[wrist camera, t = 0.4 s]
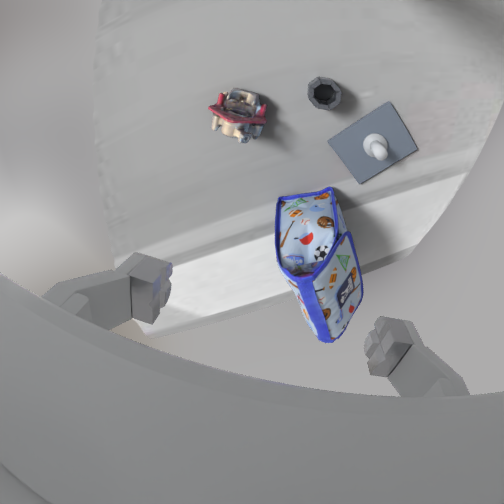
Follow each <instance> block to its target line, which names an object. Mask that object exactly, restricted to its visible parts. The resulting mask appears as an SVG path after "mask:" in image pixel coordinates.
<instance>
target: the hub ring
mask: <svg viewBox="0 0 504 504" xmlns="http://www.w3.org/2000/svg"><path fill="white" fill-rule="evenodd" d="M320 84H327V85H331V86H332V88H333V97H331V98H330V99H328V100H327V101H323V100H318V99H317V98H316V97H315V96H314V88H316V87H317V86H319V85H320ZM341 93H342V92H341V90H340V88H339V87H338V86H337V85H336V84H335V82H334V81H333V80H331V79H330V78H324V77H319V78H318V77H317V78H315V79H314V80H312V81H311V82H310V83H309V84H308V98H309V100H310V101H311V102H312V104H313V105H314V106H315V107H316V108H318V109H324V110H329V109H330V110H331V109H333V108H334V107H336V106H337V105H339V102H340V101H341Z"/></svg>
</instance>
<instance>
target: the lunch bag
mask: <svg viewBox="0 0 504 504" xmlns="http://www.w3.org/2000/svg"><path fill="white" fill-rule="evenodd" d="M275 248H276V256H277V263H278V266H279V269H280V271H281V273H282V275H283V276H284V278H285V279H286V281H287V282H288V284H289V286H290V287H291V288H292V290H293V291H294V293H295V295H296V298H297V300H298V302H299V305H300V307H301V310H302V313H303V316H304V318H305V320H306V322H307V323H308V325H309V326H310V328H311V329H312V331H313V332H314V333H315V335H316V336H317V338H318V339H319V340H320V341H322V342H325V343H333V342H334V341H335V340H336V339H337V338H339V337H340V336H341V335H342V334H343V332H344V331H345V329H346V327H347V325H348V323H349V321H350V319H351V317H352V316H353V314H354V312H355V311H356V309H357V308H358V306H359V305H360V303H361V301H362V298H363V281H362V276H361V271H360V267H359V262H358V258H357V255H356V251H355V247H354V243H353V239H352V235H351V233H350V232H349V231H347V228H346V224H345V221H344V217H343V214H342V211H341V209H340V206H339V203H338V201H337V199H336V196H335V195H334V191H333V188H332V187H327V188H325V189H323V190H321V191H318V192H312V193H304V194H297V195H292V196H286V197H284V196H282V197H279V198H278V202H277V204H276V216H275Z"/></svg>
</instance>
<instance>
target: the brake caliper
mask: <svg viewBox="0 0 504 504" xmlns="http://www.w3.org/2000/svg"><path fill="white" fill-rule="evenodd" d="M259 102H260V101H259V94H257V93H254V92H249V91H244V90H241V89H238V88H233V89H232V90H231V92H230V93H229V94H228V92H224V93H220V94H219V97H218V102H217V103H216V104H215V105H211V106H209V107H208V109H209V110H211V111H212V112H213V119H212V130H214V131H216V130H217V129H218V128H219V127H220V126H222V129H221V131H222V133H223V134H224V135H226V136H228V137H231V138H238V141H239V143H247V142H248V141H249V140H250V138H251V136H252V135H253V139H257V138H258V136H259V135H260V133H261V130H262V129H263V126H264V123H267V120H266V118H265V111H266V108H267V104H262V105H260V103H259ZM249 132H251V133H252V134H251V133H249Z"/></svg>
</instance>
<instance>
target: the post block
mask: <svg viewBox="0 0 504 504" xmlns="http://www.w3.org/2000/svg"><path fill="white" fill-rule="evenodd" d="M328 143H329V145H330V146H331V147H332V148H333V150H334V151H335V152H336V153H337V155H338V156H339V157H340V159H341V160H342V161H343V163H344V164H345V165H346V167H347V168H348V169H349V171H350V172H351V174H352V175H353V176H354V178H355V179H356V181H357V182H358V183H359V184H361V183H362V182H364V181H366V180H367V179H369V178H371V177H372V176H374V175H376V174H377V173H379V172H381V171H382V170H384V169H385V168H387V167H389V166H390V165H392V164H394V163H395V162H397V161H399V160H400V159H402V158H404V157H405V156H407V155H409V154H410V153H412V152H413V151H415V150H417V147H416V145H415V144H414V142H413V140H412V138H411V136H410V135H409V133H408V131H407V129H406V128H405V126H404V124H403V122H402V121H401V119H400V117H399V116H398V114H397V113H396V111H395V109H394V108H393V106H392V105H391V103H390V102H389V101H388V102H386V103H385V104H383V105H382V106H380V107H378V108H377V109H375V110H374V111H372V112H370V113H369V114H367V115H366V116H364V117H363V118H361V119H360V120H358V121H357V122H355V123H353V124H352V125H350V126H349V127H347V128H346V129H344V130H343V131H341V132H340V133H338V134H337V135H335V136H334V137H332V138H331V139H329V140H328Z"/></svg>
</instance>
